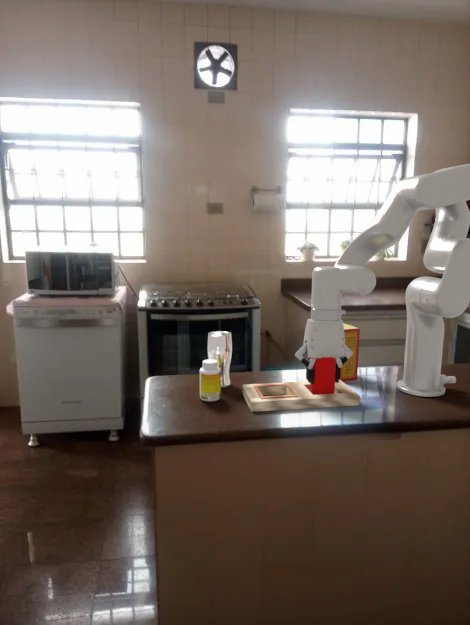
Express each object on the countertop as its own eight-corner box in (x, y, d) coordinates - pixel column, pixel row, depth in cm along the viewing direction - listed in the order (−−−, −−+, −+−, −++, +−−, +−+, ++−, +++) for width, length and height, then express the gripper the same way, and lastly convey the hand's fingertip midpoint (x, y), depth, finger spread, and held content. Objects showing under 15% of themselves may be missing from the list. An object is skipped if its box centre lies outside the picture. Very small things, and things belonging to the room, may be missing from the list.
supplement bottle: (223, 400, 118) (223, 363, 116) (203, 403, 116) (202, 365, 115) (217, 393, 123) (216, 357, 122) (197, 396, 122) (196, 359, 120)
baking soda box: (321, 372, 142) (323, 322, 140) (339, 370, 145) (341, 321, 142) (338, 382, 134) (340, 328, 131) (357, 379, 136) (359, 327, 133)
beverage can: (331, 403, 117) (333, 358, 115) (307, 399, 119) (309, 355, 117) (336, 396, 122) (338, 352, 120) (314, 392, 125) (315, 350, 123)
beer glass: (229, 389, 127) (229, 336, 125) (205, 387, 129) (204, 335, 126) (234, 381, 134) (234, 331, 131) (211, 379, 135) (210, 330, 133)
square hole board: (339, 388, 128) (340, 378, 128) (359, 405, 116) (360, 394, 115) (242, 393, 124) (242, 383, 123) (251, 411, 111) (251, 400, 111)
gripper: (351, 311, 122) (348, 375, 125) (289, 313, 119) (287, 378, 122) (363, 316, 115) (359, 384, 118) (297, 318, 112) (295, 388, 115)
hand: (322, 381), depth 120 cm, fingers closed on beverage can, 6 cm apart
